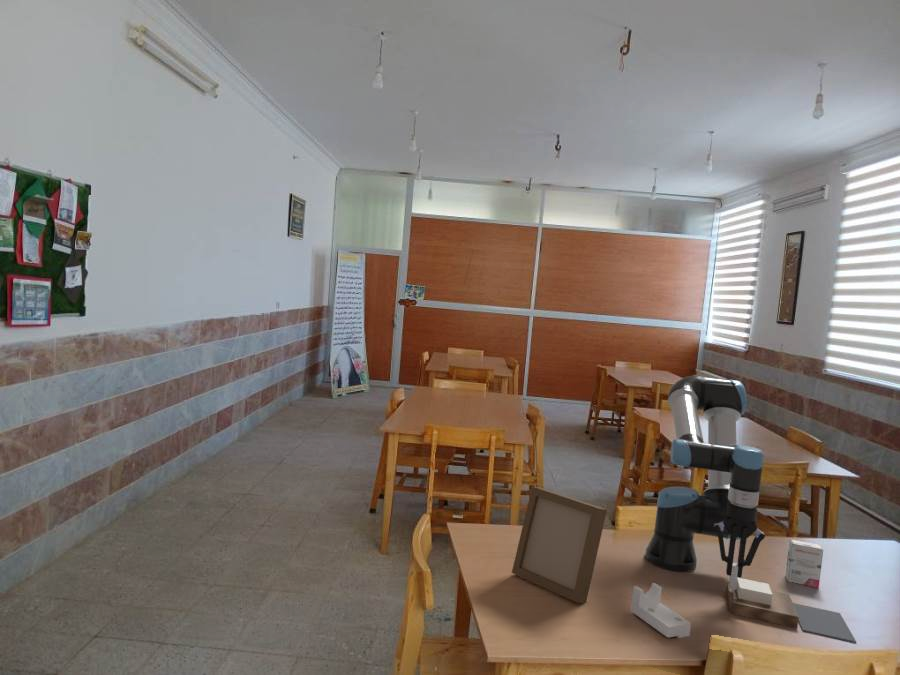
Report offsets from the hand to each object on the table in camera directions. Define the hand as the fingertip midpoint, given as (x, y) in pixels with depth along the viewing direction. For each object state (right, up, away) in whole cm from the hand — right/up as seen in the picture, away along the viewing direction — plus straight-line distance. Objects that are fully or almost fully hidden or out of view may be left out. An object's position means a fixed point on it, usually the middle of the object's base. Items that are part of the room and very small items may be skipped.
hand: (732, 587), depth 175 cm
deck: (+7, -5, -2) cm, 9 cm away
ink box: (+30, -6, +19) cm, 36 cm away
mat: (+21, -7, -6) cm, 23 cm away
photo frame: (-47, 0, +3) cm, 48 cm away
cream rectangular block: (+5, -2, -1) cm, 6 cm away
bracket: (-25, -4, -15) cm, 30 cm away
